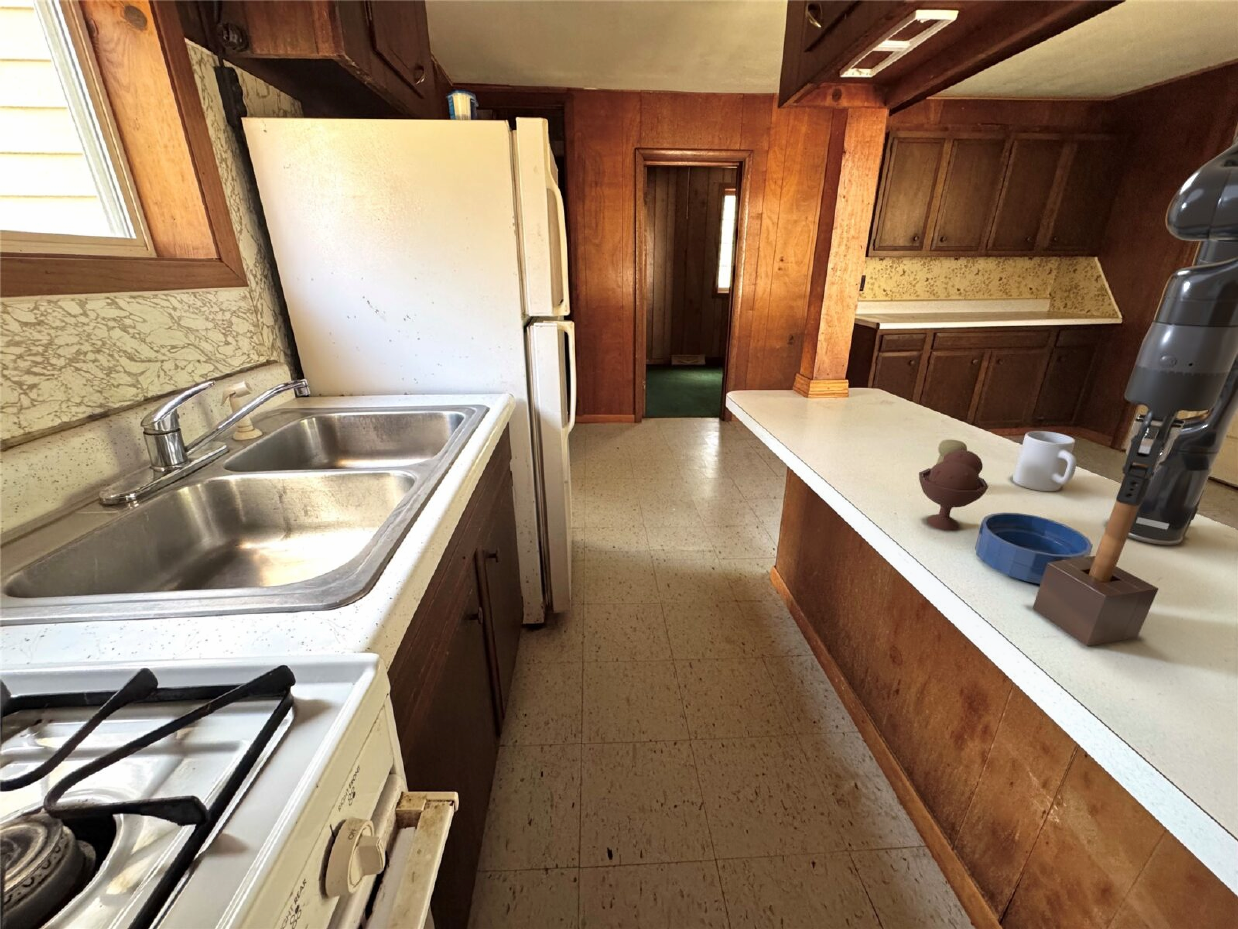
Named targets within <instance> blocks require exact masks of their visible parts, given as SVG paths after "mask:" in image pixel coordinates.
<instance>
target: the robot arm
mask: <svg viewBox="0 0 1238 929" xmlns="http://www.w3.org/2000/svg"><path fill="white" fill-rule="evenodd" d="M1233 133H1234V134H1233V136H1232V141H1231V144H1230V146H1229V147H1228V148H1227V149H1225V150H1224V151H1223V152H1221V153H1219V154H1218V155H1217V156H1215V157H1214V158H1212V159H1211V160H1209V161H1208V162H1206V163H1205V164H1203V165H1202V166H1201V167H1199V168H1198V169H1197V170H1196V171H1194V172H1193V173H1192V174H1191V175H1190V176H1188V178H1187V179H1186V180H1185V181H1184V182H1183V183H1182V184H1181V186H1179V188H1178V189H1177V190H1176V192H1175V193H1174V195H1173V196H1172V198H1171V200H1170V202H1169V204H1168V206H1167V209H1166V212H1165V219H1164V220H1165V221H1164V222H1165V226H1166V229H1167V231H1168V232H1169V234H1170V235H1171V236H1173V237H1174V238H1175V239H1178V240H1181V241H1185V242H1186V241H1187V242H1198V244H1197V247H1196V250H1195V252H1194V256H1193V259H1192V264H1191V266H1185V267H1182V268H1179V269H1177V270H1175V271H1173V272H1172V273H1171V274H1170V276H1169V277H1168V279H1167V281H1166V282H1165V286H1164V288H1163V291H1162V294H1161V297H1160V300H1159V302H1158V306H1157V308H1156V312H1155V314H1154V317H1153V321H1152V322H1151V325H1150V327H1149V329H1148V330H1147V333H1146V334H1145V336H1144V337H1143V340H1142V342H1141V345H1140V348H1139V351H1138V354H1137V357H1136V359H1135V362H1134V365H1133V368H1132V371H1131V374H1130V376H1129V380H1128V383H1127V385H1126V389H1125V392H1124V394H1123V396H1124V398H1125V400H1126V401H1128V402H1130V403H1132V404H1135V405H1138V406H1145V407H1146V408H1147V411H1146V412H1145V413H1146V414H1144V413H1139V414H1138V416H1137V417H1136V418H1135V419H1134V422H1133V424H1132V425H1131V426H1132V427H1131V429H1130V433H1131V436H1130V440H1129V442H1128V445H1127V448H1126V450H1125V455H1126V456H1127V457H1126V460H1125V463H1124V465H1123V466H1122V468H1121V471H1122V474H1123V475H1124V476H1123V479H1122V482H1121V484H1120V487H1119V489H1118V492H1117V495H1116V498H1115V501H1116V500H1117V501H1118V502H1119V503H1123V504H1128V505H1132V506H1138V505H1140V506H1139V509H1138V511H1137V514H1136V516H1135V519H1134V521H1133V524H1132V526H1131V529H1130V532H1129V534H1128V537H1127V538H1130V539H1133V540H1136V541H1139V542H1143V543H1148V544H1151V545H1152V544H1153V545H1160V546H1175V545H1180V544H1181V542H1182V540H1183V539H1184V538H1185V537H1186V534H1187V532H1188V529H1189V527H1190V526H1191V523H1192V521H1194V519H1195V517H1196V515H1197V513H1198V510H1199V505H1200V502H1201V500H1202V498H1203V496H1204V494H1205V486H1206V484H1207V481H1208V480H1209V477H1210V475H1211V473H1212V470H1213V468H1214V466H1215V463H1216V460H1217V458H1218V456H1219V454H1220V452H1221V450H1222V447H1223V445H1224V442H1225V441H1226V437H1227V436H1228V432H1229V430H1230V427H1231V425H1232V423H1233V421H1234V419H1235V417H1236V415H1237V413H1238V120H1237V122H1236V125H1235V129H1234V132H1233ZM1182 411H1185V412H1192V413H1193V412H1203V413H1200V414H1198V415H1194V416H1190V417H1185V418H1179V417H1178V415H1179V412H1182ZM1134 462H1135V463H1140V464H1145V465H1148V468H1146V467H1141V466H1136V465H1133V464H1134ZM1140 503H1141V504H1140Z"/></svg>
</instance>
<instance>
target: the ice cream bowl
mask: <svg viewBox="0 0 1238 929" xmlns="http://www.w3.org/2000/svg"><path fill="white" fill-rule="evenodd" d="M983 467H984V466H983V462H982V459H981V457H980V456H978V454H976V453H974V452H973V451H970V450H968V449H967V450H956V451H952V452H950V453H948V454H947V455H945V457H944V459H943V462H940V463H938V464H936V463H935V464H934V465H933V466H932V467H929V468H926V469H924V470H921V471H920V472H918V479H919V484H920V487H921V489H922V492H923V494H924V496H926V497H927V498H928V499H929V500H931V502H933V503H935V504H937V505H939V506H940V508H939V512H938V513H937V514H931V515H929V516H927V517H926V518H925V522H926V524H927V525H929V526H930V527H932V528H934V529H937V530H941V531H944V532H945V531H946V532H947V531H949V532H951V531H953V532H954V531H956V530H958V529H960V525H959V522H958V521H957V520H956V519H954V518H953V517H952V516H951V511H952V510H953V508H963V507H966V506H968V505H971V504H972V503H974V502H976V501H978V500H979V499H981V498H982V497H983V496H984V495H985V494H986V492H987V490H988V489H989V485H988V484H987V482H986V480H985V479H984V478H982V477H980V473H981V472H982V470H983Z"/></svg>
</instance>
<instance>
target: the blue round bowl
mask: <svg viewBox="0 0 1238 929" xmlns="http://www.w3.org/2000/svg"><path fill="white" fill-rule="evenodd" d="M974 550H975V554H976V556H977V557H978V558H979V559H980V560H981V561H982V562H983V563H985V564H986V565H988V566H989V567H991V568H993V569H994V570H996V571H998V572H1000V573H1002V574H1004V575H1007V576H1008V577H1011V578H1014V579H1017V580H1020V581H1023V582H1026V583H1027V582H1028V583H1032V584H1037V585H1038V584H1039V585H1040V584H1041V581H1042V578H1043V575H1044V572H1045V569H1046V566H1047V563H1048V562H1055V561H1062V560H1069V559H1076V558H1083V557H1090V556H1091V553H1092V551H1093V543H1092V542H1091V541H1090V539H1089V538H1088V537H1087V536H1086V535H1084V534H1083V533H1081V532H1080V531H1079V530H1077V529H1074V528H1073V527H1071V526H1068V525H1066V524H1064V523H1062V522H1058V521H1055V520H1053V519H1050V518H1047V517H1042V516H1038V515H1033V514H1027V513H1021V512H997V513H991V514H988V515H986V516H984V517H983V518H982V520H981V524H980V527H979V530H978V534H977V538H976V542H975V546H974Z"/></svg>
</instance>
